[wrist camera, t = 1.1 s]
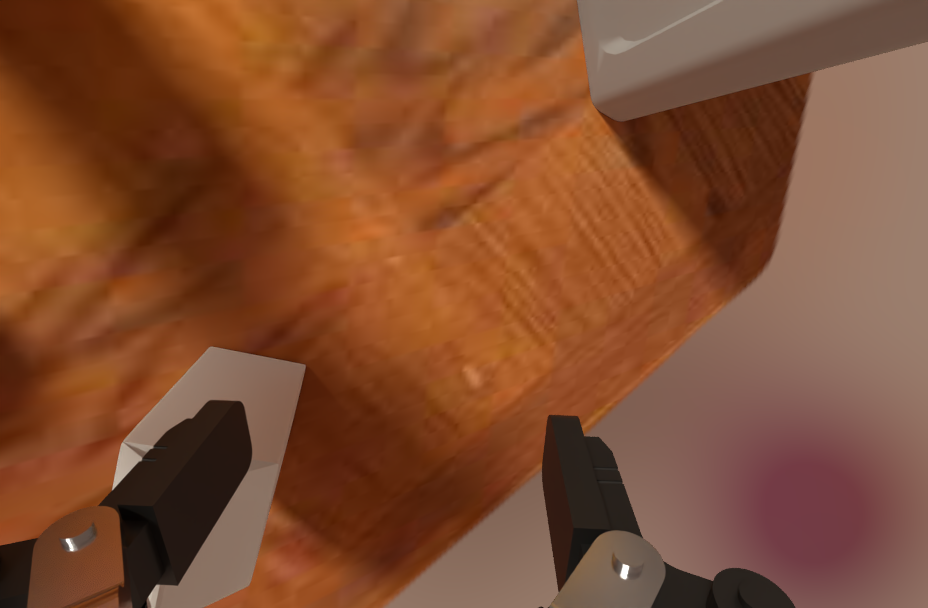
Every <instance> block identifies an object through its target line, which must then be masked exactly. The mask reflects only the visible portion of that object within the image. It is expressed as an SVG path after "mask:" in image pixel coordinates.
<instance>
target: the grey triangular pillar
mask: <svg viewBox="0 0 928 608" xmlns="http://www.w3.org/2000/svg"><path fill="white" fill-rule="evenodd" d="M577 3H578V10H579V17H580V24H581V31H582V38H583V45H584V52H585V59H586V66H587V73H588V80H589V87H590V94H591V99H592V103H593V105H594V106H595V108H596V109H598V110H599V111H600V112H602V113H603V114H605V115H607V116H608V117H610V118H612V119H613V120H616V121H621V122H623V121H627V120H631V119H635V118H638V117H642V116H646V115H650V114H654V113H658V112H661V111H665V110H669V109H673V108H677V107H680V106H684V105H688V104H692V103H696V102H700V101H703V100H707V99H711V98H715V97H719V96H722V95H726V94H730V93H734V92H738V91H741V90H745V89H749V88H753V87H757V86H761V85H764V84H768V83H772V82H776V81H780V80H783V79H787V78H791V77H795V76H799V75H803V74H806V73H810V72H814V71H818V70H822V69H825V68H829V67H833V66H836V65H840V64H845V63H848V62H852V61H856V60H860V59H863V58H867V57H871V56H875V55H879V54H883V53H886V52H890V51H894V50H898V49H901V48H905V47H909V46H913V45H916V44H921V43H925V42H928V0H577Z"/></svg>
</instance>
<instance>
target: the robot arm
mask: <svg viewBox="0 0 928 608" xmlns="http://www.w3.org/2000/svg"><path fill="white" fill-rule="evenodd" d="M251 460H252V443H251V438H250V433H249V428H248V423H247V417H246V412H245V407H244V405H243V403H242V402H241V401H229V400H209V401H208V402H207V403H206V404H205V405H204V406H203V407H202V408H201V409H200V410H199V412H198V413H197V414H196V415H195V416H194V417H193V418H192V419H191V418H186V419H185V420H183V421H182V422H180V423H179V424H177V425H175V426H174V427H172V428H171V429H169V430H168V431H166V433H165V434H164V435H163V436H162V437H161V438H160V439H159V440H158V441H157V442H156V443H155V444H154V446H153V449H150V450H149V451H148V452H147V453H146V454H145V455H144V456H143V458H142V461H139V462H138V463H137V464H136V465H135V466H134V467H133V468H132V469H131V471H130V472H129V473H128V474H127V475H126V476H125V477H124V478H123V479H122V480H121V481H120V483H119V484H118V485H117V486H116V487H115V488H114V489H113V490H112V491H111V492H110V493H109V495H108V496H107V497H106V498H105V499H104V500H103V501H102V502H101V503H100V504H99V505H98V506H93V507H88V508H84V509H80V510H77V511H75V512H73V513H70V514H68V515H66V516H64V517H63V518H61V519H59V520H57V521H56V522H55V523H53V524H52V525H51V526H49V527H48V528H47V529H46V530H45V531H44V532H43V533H42V534H41V535H40V537H39V538H36V539H31V540H26V541H21V542H16V543H11V544H6V545H1V546H0V608H151V604H150V601H149V598H148V597H149V595H150V594H151V592H152V591H153V589H154V588H155V586H156V585H173V586H178V585H179V583H180V581H181V580H182V578H183V576H184V575H185V573H186V572H187V570H188V568H189V567H190V565H191V563H192V562H193V560H194V558H195V557H196V555H197V554H198V552H199V550H200V549H201V547H202V545H203V544H204V542H205V541H206V539H207V537H208V536H209V534H210V532H211V531H212V529H213V527H214V526H215V524H216V523H217V521H218V519H219V518H220V516H221V514H222V513H223V511H224V509H225V508H226V506H227V505H228V503H229V501H230V500H231V498H232V496H233V495H234V493H235V492H236V490H237V488H238V487H239V485H240V483H241V482H242V480H243V478H244V477H245V475H246V474H247V472H248V470H249V467H250V464H251ZM542 482H543V490H544V497H545V503H546V510H547V517H548V524H549V530H550V537H551V544H552V551H553V557H554V564H555V571H556V577H557V584H558V591H559V593H558V595H557V596H556V598H555V599H554V601H553V602H552V604H551V605H550V606H549V607H548V608H795V606H794V604H793V603H792V601H791V600H790V599H789V597H788V596H787V595H786V594H785V593H784V592H783V591H782V590H781V589H780V588H779V587H778V586H777V585H776V584H774V583H773V582H772V581H770V580H769V579H767V578H765V577H763V576H762V575H760V574H757V573H755V572H753V571H749V570H746V569H741V568H729V569H725V570H723V571H721V572H719V573H718V574H717V575H716V576H715V578H714V581H711V580H708V579H705V578H702V577H699V576H696V575H693V574H690V573H687V572H684V571H681V570H679V569H676V568H674V567H672V566H670V565H669V564H667V563H666V562H664V561H663V559H662V558H661V556H660V554H659V553H658V551H657V550H656V549H655V548H654V547H653V546H652V545H651V544H650V543H649V542H648V541H646V540H645V539H643V537H642V535H641V532H640V529H639V527H638V524H637V521H636V518H635V515H634V512H633V510H632V507H631V504H630V501H629V498H628V495H627V493H626V490H625V487H624V484H622V478H621V476H620V473H619V471H618V467H617V464H616V461H615V458H614V456H613V453H612V451H611V450H610V449H609V448H608V447H607V446H606V444H605V443H604V442H603V441H602V440H601V439H600V438H599V437H585V436H584V434H583V431H582V427H581V424H580V420H579V418H578V416H563V415H549V416H548V419H547V427H546V436H545V444H544V453H543V462H542ZM539 608H543V607H539Z"/></svg>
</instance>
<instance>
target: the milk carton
mask: <svg viewBox="0 0 928 608" xmlns="http://www.w3.org/2000/svg"><path fill="white" fill-rule="evenodd" d="M305 369H306V365H305V364H300V363H294V362H289V361H284V360H279V359H274V358H269V357H264V356H258V355H253V354H248V353H243V352H238V351H233V350H228V349H222V348H217V347H212V346H211V347H209V348H208V350H207V351H206V352H205V353H204V354H203V355H202V356H201V357H200V358H199V359H198V360H197V361H196V362H195V364H194V365H193V366H192V367H191V368H190V369H189V370H188V371H187V372H186V373H185V374H184V375H183V376H182V378H181V379H180V380H179V381H178V382H177V383H176V384H175V385H174V386H173V387H172V388H171V389H170V390H169V392H168V393H167V394H166V395H165V396H164V397H163V398H162V399H161V400H160V401H159V402H158V403H157V404H156V406H155V407H154V408H153V409H152V410H151V411H150V412H149V413H148V414H147V415H146V416H145V417H144V418H143V420H142V421H141V422H140V423H139V424H138V425H137V426H136V427H135V428H134V429H133V430H132V431H131V433H130V434H129V435H128V436H127V437H126V438H125V440H124V441H123V442H122V444H121V448H120V453H119V457H118V462H117V467H116V472H115V478H114V483H113V488H112V490H113V489H114V488H115V487H116V486H117V485H118V484H119V483H120V481H121V480H122V479H123V478H124V477H125V476H126V475H127V474H128V473H129V472H130V471H131V469H132V468H133V467H134V466H135V465H136V464H137V463H138V462H139V461H142V458H143V456H144V455H145V454H146V453H147V452H148V451H149V450H150V449H153V446H154V444H155V443H156V442H157V441H158V440H159V439H160V438H161V437H162V436H163V435H164V434H165V433H166V431H168V430H169V429H171V428H172V427H174V426H175V425H177V424H179V423H180V422H182V421H183V420H185V419H186V418H191V419H192V418H193V417H194V416H195V415H196V414H197V413H198V412H199V410H200V409H201V408H202V407H203V406H204V405H205V404H206V403H207V402H208V401H209V400H229V401H241V402H242V403H243V405H244V407H245V412H246V417H247V423H248V428H249V433H250V438H251V443H252V460H251V464H250V467H249V470H248V472H247V474H246V475H245V477H244V478H243V480H242V482H241V483H240V485H239V487H238V488H237V490H236V492H235V493H234V495H233V496H232V498H231V500H230V501H229V503H228V505H227V506H226V508H225V509H224V511H223V513H222V514H221V516H220V518H219V519H218V521H217V523H216V524H215V526H214V527H213V529H212V531H211V532H210V534H209V536H208V537H207V539H206V541H205V542H204V544H203V545H202V547H201V549H200V550H199V552H198V554H197V555H196V557H195V558H194V560H193V562H192V563H191V565H190V567H189V568H188V570H187V572H186V573H185V575H184V576H183V578H182V580H181V581H180V583H179V585H178V586H173V585H156V586H155V588H154V589H153V591H152V592H151V594H150V595H149V597H148V598H149V601H150V604H151V608H203V607H205V606H208V605H210V604H212V603H214V602H216V601H218V600H220V599H222V598H224V597H227V596H229V595H231V594H233V593H235V592H237V591H239V590H241V589H243V588H245V587H247V586H249V584H250V582H251V579H252V576H253V572H254V568H255V564H256V560H257V557H258V553H259V549H260V545H261V541H262V538H263V534H264V530H265V526H266V522H267V519H268V515H269V511H270V507H271V503H272V500H273V496H274V492H275V488H276V484H277V481H278V477H279V473H280V469H281V465H282V462H283V458H284V454H285V450H286V446H287V443H288V439H289V435H290V431H291V427H292V423H293V419H294V414H295V410H296V406H297V402H298V398H299V394H300V390H301V386H302V382H303V378H304V374H305Z"/></svg>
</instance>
